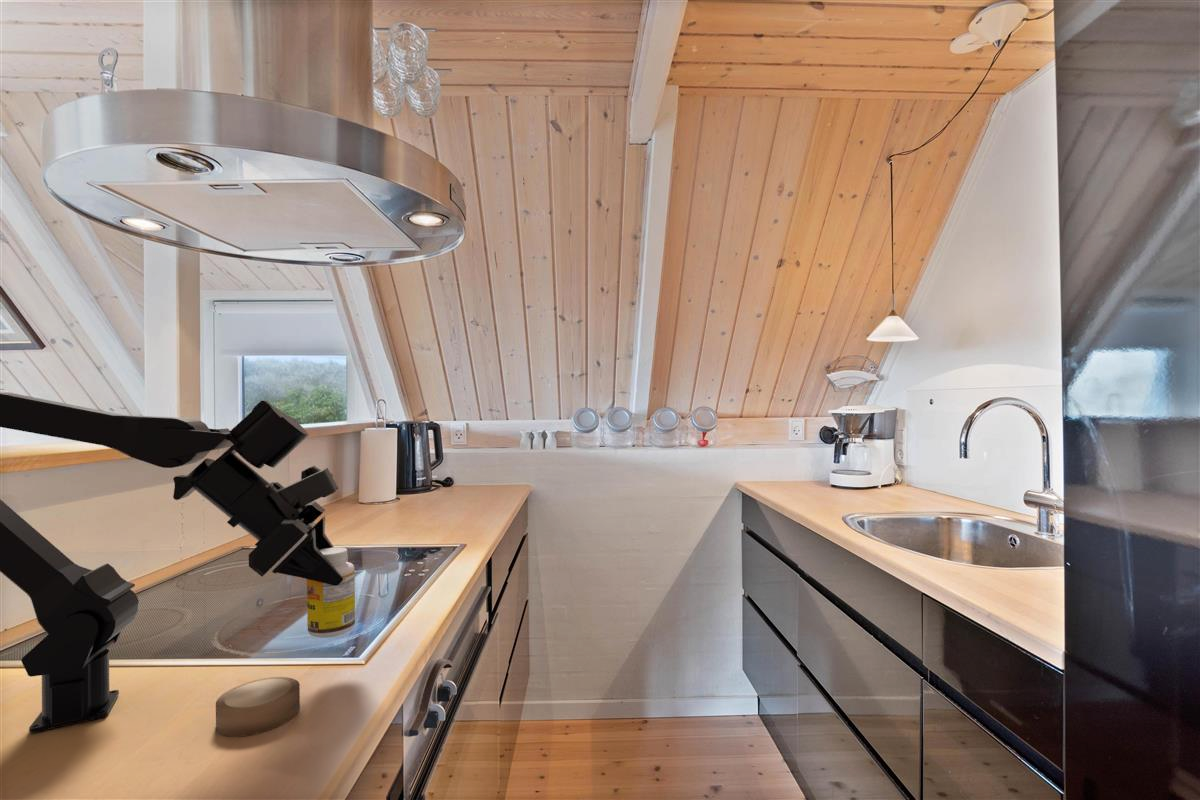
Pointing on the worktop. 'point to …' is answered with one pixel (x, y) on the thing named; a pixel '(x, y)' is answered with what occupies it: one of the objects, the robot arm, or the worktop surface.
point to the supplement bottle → (332, 599)
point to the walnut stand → (257, 706)
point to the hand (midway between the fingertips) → (342, 576)
